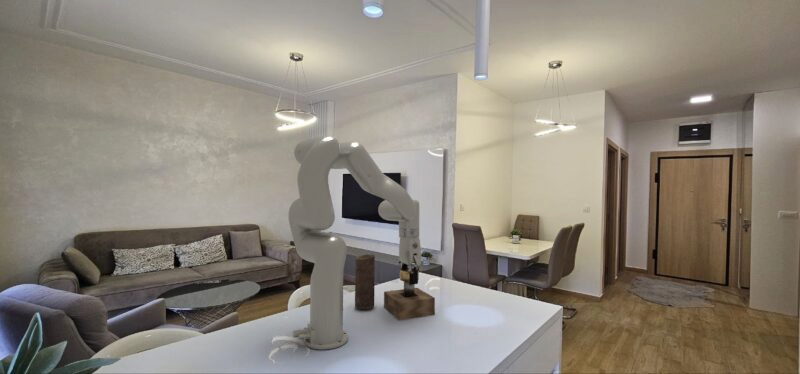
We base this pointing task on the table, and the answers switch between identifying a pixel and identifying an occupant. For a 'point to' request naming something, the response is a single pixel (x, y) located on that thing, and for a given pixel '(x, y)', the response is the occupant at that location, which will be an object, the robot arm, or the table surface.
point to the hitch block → (409, 304)
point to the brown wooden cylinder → (364, 281)
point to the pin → (407, 282)
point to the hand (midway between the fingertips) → (409, 281)
